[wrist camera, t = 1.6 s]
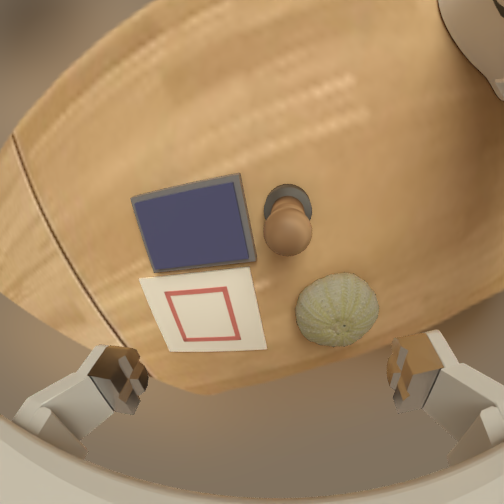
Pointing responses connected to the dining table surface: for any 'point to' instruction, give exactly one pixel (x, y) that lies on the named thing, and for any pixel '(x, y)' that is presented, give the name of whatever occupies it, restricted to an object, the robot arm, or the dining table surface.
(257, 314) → the sheet
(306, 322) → the sea urchin shell
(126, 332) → the dining table surface
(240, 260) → the ink pad
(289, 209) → the stamp
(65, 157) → the dining table surface
